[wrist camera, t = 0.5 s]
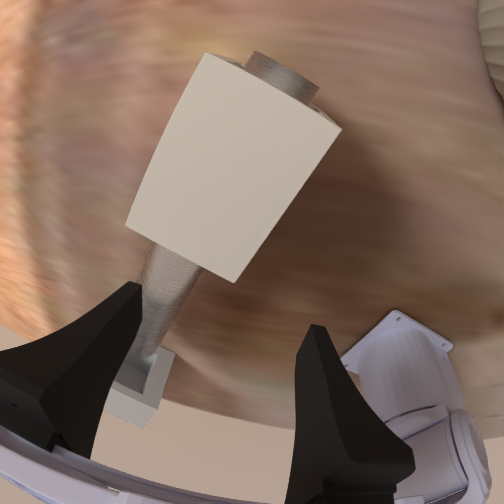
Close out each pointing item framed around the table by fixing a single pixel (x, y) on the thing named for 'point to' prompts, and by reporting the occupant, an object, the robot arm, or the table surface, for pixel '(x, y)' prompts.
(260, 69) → the tube
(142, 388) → the socket
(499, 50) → the canister
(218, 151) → the sleeve
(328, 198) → the table surface
